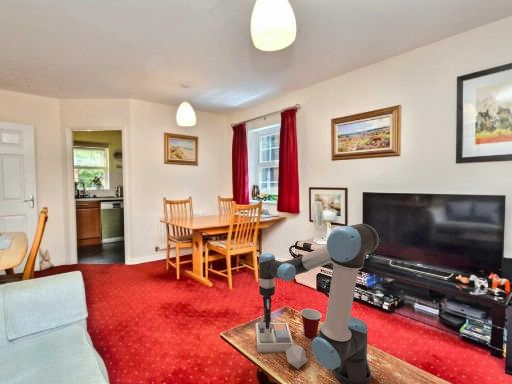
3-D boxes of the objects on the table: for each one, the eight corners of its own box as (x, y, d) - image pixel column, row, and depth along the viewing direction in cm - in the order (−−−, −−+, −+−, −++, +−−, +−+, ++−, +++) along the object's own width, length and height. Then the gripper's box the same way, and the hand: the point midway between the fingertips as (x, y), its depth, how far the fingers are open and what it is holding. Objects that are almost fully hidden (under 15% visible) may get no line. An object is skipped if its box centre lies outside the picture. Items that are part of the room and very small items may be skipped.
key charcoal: (271, 332, 144) (271, 327, 144) (259, 333, 143) (259, 328, 143) (270, 325, 151) (270, 321, 151) (259, 325, 150) (259, 321, 150)
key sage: (273, 346, 135) (273, 340, 135) (260, 346, 134) (260, 341, 134) (272, 338, 142) (272, 333, 142) (260, 338, 141) (260, 333, 141)
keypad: (293, 352, 133) (293, 343, 133) (257, 352, 132) (257, 344, 132) (287, 329, 153) (287, 322, 153) (255, 330, 152) (255, 323, 152)
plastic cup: (319, 343, 141) (319, 319, 140) (298, 338, 145) (298, 315, 144) (323, 332, 150) (323, 310, 150) (303, 328, 155) (303, 306, 154)
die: (310, 368, 123) (306, 342, 129) (303, 368, 116) (299, 340, 122) (292, 370, 126) (289, 344, 132) (284, 370, 119) (281, 343, 125)
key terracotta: (286, 335, 144) (286, 330, 144) (274, 335, 144) (274, 330, 144) (284, 328, 151) (284, 323, 151) (273, 328, 151) (273, 323, 151)
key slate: (289, 342, 135) (289, 337, 135) (276, 342, 135) (276, 337, 135) (287, 334, 142) (287, 329, 142) (275, 334, 142) (275, 329, 142)
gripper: (258, 281, 143) (258, 327, 144) (260, 291, 130) (260, 341, 131) (273, 281, 144) (273, 327, 144) (276, 290, 131) (276, 341, 131)
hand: (267, 333), depth 138 cm, fingers closed
